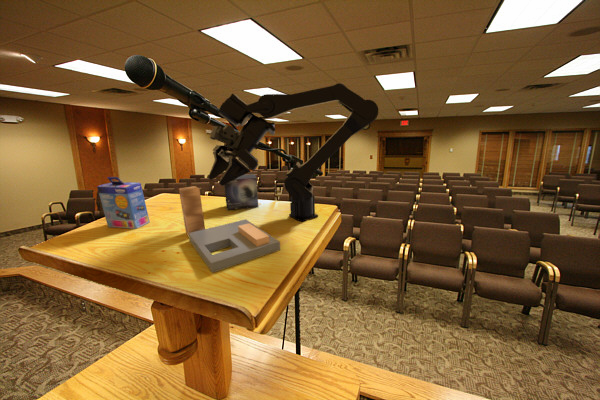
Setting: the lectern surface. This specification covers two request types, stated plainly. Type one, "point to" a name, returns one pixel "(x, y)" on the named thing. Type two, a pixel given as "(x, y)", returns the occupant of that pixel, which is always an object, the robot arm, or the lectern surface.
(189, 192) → the ochre column
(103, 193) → the ink cartridge box
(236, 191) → the small box
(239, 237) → the baseplate
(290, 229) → the lectern surface
